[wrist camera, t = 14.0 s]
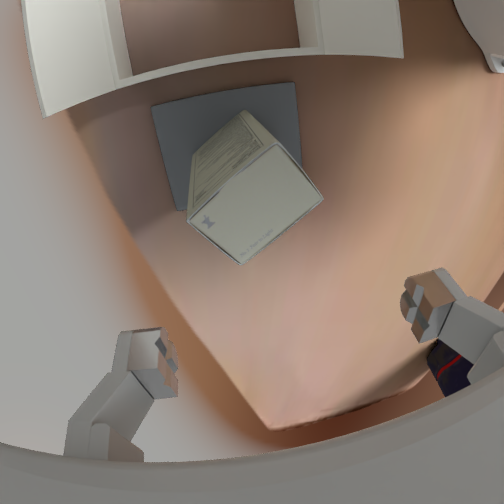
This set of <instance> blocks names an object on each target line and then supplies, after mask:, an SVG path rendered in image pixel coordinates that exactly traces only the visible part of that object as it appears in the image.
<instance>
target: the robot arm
mask: <svg viewBox="0 0 504 504" xmlns="http://www.w3.org/2000/svg"><path fill="white" fill-rule="evenodd" d="M454 3H455V6H456V9H457V11H458V13H459V16H460V18H461V20H462V22H463V24H464V25H465V27H466V29H467V30H468V32H469V33H470V35H471V36H472V38H473V39H474V40H475V41H476V43H477V44H478V45H479V46H480V48H481V49H482V51H483V53H484V56H485V58H486V61H487V63H488V65H489V67H490V69H491V70H492V71H493V72H496V73H504V0H454ZM404 287H405V288H406V290H405V292H404V293H403V294H402V295H401V300H400V307H401V312H402V314H403V316H404V318H405V320H406V321H408V322H410V323H412V327H411V330H412V332H413V334H414V335H415V337H416V339H417V341H418V342H419V343H422V342H425V341H428V340H431V339H434V338H437V337H438V339H440V340H441V341H443V342H444V343H445V344H447V345H448V346H449V347H451V348H452V349H454V350H455V351H456V352H458V353H459V354H460V355H462V356H463V357H464V358H466V359H467V360H469V361H470V362H471V363H473V364H474V366H473V367H472V368H471V370H470V371H469V373H468V375H467V378H468V380H469V382H470V383H471V385H469V386H468V387H466V388H464V389H462V390H460V391H458V392H456V393H454V394H452V395H450V396H447V397H445V398H443V399H441V400H439V401H437V402H435V403H432V404H430V405H428V406H426V407H423V408H421V409H419V410H416V411H414V412H411V413H409V414H406V415H404V416H401V417H398V418H396V419H393V420H390V421H388V422H385V423H382V424H379V425H376V426H373V427H370V428H367V429H364V430H361V431H358V432H354V433H351V434H348V435H345V436H341V437H337V438H334V439H329V440H326V441H322V442H318V443H314V444H309V445H305V446H301V447H296V448H291V449H286V450H281V451H275V452H270V453H263V454H257V455H251V456H243V457H235V458H227V459H216V460H204V461H188V462H144V452H143V451H142V450H141V449H139V448H138V447H137V446H135V445H134V444H132V443H131V440H132V438H133V436H134V435H135V433H136V431H137V430H138V428H139V426H140V424H141V423H142V421H143V419H144V417H145V416H146V414H147V412H148V411H149V409H150V407H151V406H152V404H153V402H154V400H153V399H162V398H172V397H178V379H177V378H176V376H175V374H174V373H175V372H176V371H177V369H178V358H177V352H176V349H175V346H174V344H173V342H171V341H170V340H168V333H167V331H166V329H165V328H164V327H158V328H149V329H139V330H131V331H122V332H120V334H119V335H118V340H117V345H116V350H115V356H114V361H113V366H112V372H111V373H107V374H106V376H105V377H104V378H103V379H102V380H101V382H100V383H99V384H98V385H97V386H96V388H95V389H94V390H93V391H92V393H91V394H90V395H89V396H88V397H87V399H86V400H85V401H84V402H83V404H82V405H81V406H80V407H79V408H78V410H77V411H76V412H75V413H74V415H73V416H72V417H71V418H70V420H69V421H68V427H67V434H66V440H65V448H64V455H63V456H62V455H56V454H50V453H44V452H39V451H34V450H29V449H25V448H20V447H16V446H12V445H8V444H4V443H1V442H0V504H504V313H503V312H501V311H499V310H497V309H495V308H493V307H491V306H489V305H487V304H485V303H483V302H481V301H479V300H477V299H475V298H473V297H471V296H469V297H467V296H466V294H465V293H464V292H463V291H462V289H461V288H460V287H459V285H458V284H457V283H456V282H455V280H454V279H453V278H452V277H451V276H450V274H449V273H448V272H447V271H446V270H445V269H444V268H439V269H435V270H432V271H428V272H424V273H421V274H417V275H414V276H410V277H408V278H407V279H406V280H405V284H404Z"/></svg>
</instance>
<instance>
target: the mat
mask: <svg viewBox="0 0 504 504" xmlns="http://www.w3.org/2000/svg"><path fill="white" fill-rule="evenodd" d="M243 110H247V111H248V112H249V113H250V114H251V115H252V116H253V117H254V118H255V119H256V120H257V121H258V122H259V123H260V124H261V125H262V126H263V127H264V128H265V129H266V130H268V131H269V133H270V134H271V135H272V136H274V137H275V138H276V139H277V140H278V141H279V142H280V143H281V144H282V146H283V147H284V148H285V149H286V150H287V151H288V152H289V154H290V155H291V156H292V157H293V158H294V160H295V161H296V162H297V163H298V164H299V166H300V167H301V168H302V157H301V144H300V132H299V121H298V110H297V100H296V90H295V82H285V83H275V84H267V85H258V86H251V87H244V88H237V89H231V90H225V91H219V92H214V93H208V94H203V95H198V96H193V97H189V98H184V99H180V100H175V101H171V102H167V103H163V104H159V105H155V106H152V107H151V111H152V116H153V120H154V124H155V128H156V133H157V137H158V141H159V145H160V149H161V153H162V157H163V161H164V165H165V168H166V172H167V176H168V180H169V184H170V187H171V191H172V195H173V198H174V202H175V205H176V209H177V211H181V210H186V209H187V206H188V193H189V183H190V173H191V164H192V156H193V154H194V153H195V152H196V151H197V150H198V149H199V148H200V147H201V146H202V145H203V144H204V143H206V142H207V141H208V140H209V139H210V138H211V137H212V136H213V135H214V134H215V133H217V132H218V131H219V130H220V129H221V128H222V127H223V126H225V125H226V124H227V123H228V122H229V121H230V120H232V119H233V118H234V117H235V116H237V115H238V114H239V113H240V112H242V111H243Z"/></svg>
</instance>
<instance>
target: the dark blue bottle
mask: <svg viewBox="0 0 504 504" xmlns="http://www.w3.org/2000/svg"><path fill="white" fill-rule="evenodd" d="M437 343H438V345H437V346H436V347H435V348H434V349H433V350H432V352H431V353H430V355H429V357H428V358H427V364H428V366H429V368H430V370H431V371H432V373H433V375H434V377H435V378H436V381H438V384H439V386H440V388H441V390H442V392H443V394H444V396H445V397H447V396H450V395H452V394H454V393H456V392H458V391H460V390H462V389H464V388H466V387H468V386H469V385H471V383H470V382H469V380H468V378H467V375H468V373H469V371H470V370H471V368H472V367H473V366H474V364H473V363H471V362H470V361H469V360H467V359H466V358H464V357H463V356H462V355H460V354H459V353H458V352H456V351H455V350H454V349H452V348H451V347H449V346H448V345H447V344H445V343H444V342H443V341H441V340H440V339H438V341H437Z"/></svg>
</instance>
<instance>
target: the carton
mask: <svg viewBox="0 0 504 504" xmlns="http://www.w3.org/2000/svg"><path fill="white" fill-rule="evenodd" d="M21 5H22V15H23V23H24V31H25V38H26V44H27V50H28V56H29V61H30V66H31V72H32V76H33V80H34V85H35V89H36V94H37V98H38V102H39V106H40V110H41V113H42V117H43V119H44V118H46V117H49V116H51V115H53V114H55V113H57V112H60V111H62V110H64V109H67V108H69V107H71V106H74V105H76V104H79V103H81V102H84V101H86V100H89V99H91V98H94V97H97V96H100V95H102V94H105V93H108V92H111V91H114V90H117V89H120V88H123V87H126V86H129V85H133V84H136V83H140V82H143V81H147V80H150V79H154V78H158V77H162V76H166V75H170V74H174V73H179V72H183V71H188V70H193V69H197V68H203V67H208V66H214V65H219V64H225V63H232V62H239V61H246V60H254V59H263V58H273V57H286V56H301V55H365V56H382V57H393V58H404V53H403V39H402V28H401V18H400V10H399V2H398V0H294V6H295V13H296V20H297V27H298V35H299V42H300V48H287V49H274V50H263V51H254V52H245V53H238V54H231V55H224V56H218V57H212V58H207V59H201V60H196V61H191V62H186V63H182V64H177V65H173V66H169V67H165V68H161V69H157V70H153V71H149V72H146V73H142V74H139V75H135V76H133V73H132V68H131V64H130V59H129V53H128V48H127V43H126V38H125V32H124V26H123V20H122V14H121V8H120V2H119V0H21Z"/></svg>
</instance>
